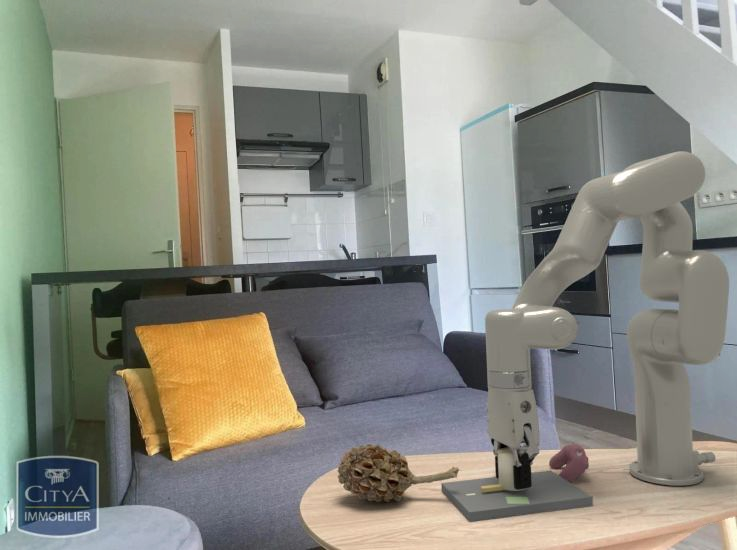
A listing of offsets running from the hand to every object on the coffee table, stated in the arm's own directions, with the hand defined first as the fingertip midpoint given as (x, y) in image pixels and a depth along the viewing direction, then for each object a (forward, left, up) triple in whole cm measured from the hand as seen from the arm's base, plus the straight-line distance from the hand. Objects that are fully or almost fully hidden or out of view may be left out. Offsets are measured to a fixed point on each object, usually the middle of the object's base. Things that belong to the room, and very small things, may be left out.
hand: (513, 481), depth 104 cm
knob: (+2, 0, -1) cm, 2 cm away
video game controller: (-15, -8, -3) cm, 17 cm away
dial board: (0, 0, -3) cm, 3 cm away
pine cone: (+19, -5, -3) cm, 20 cm away
